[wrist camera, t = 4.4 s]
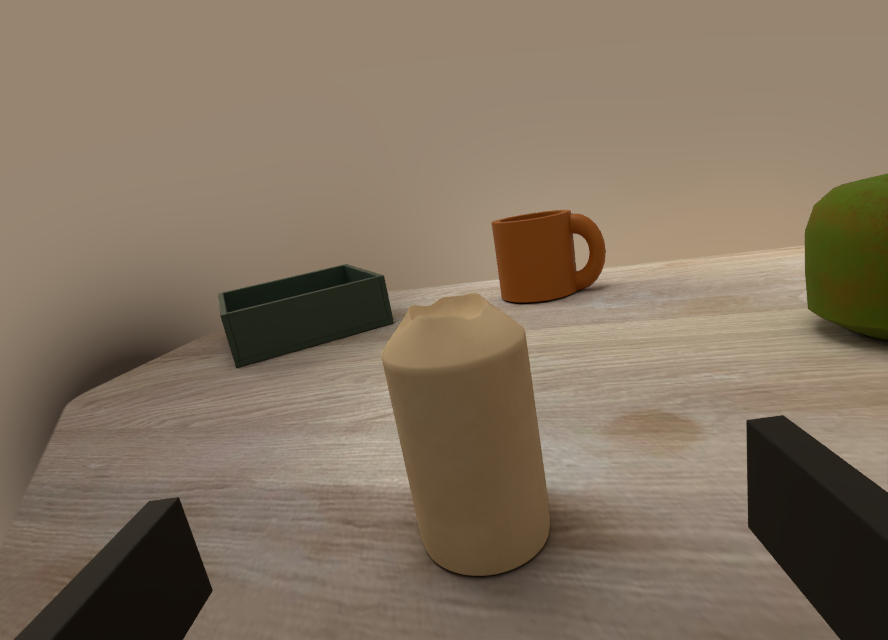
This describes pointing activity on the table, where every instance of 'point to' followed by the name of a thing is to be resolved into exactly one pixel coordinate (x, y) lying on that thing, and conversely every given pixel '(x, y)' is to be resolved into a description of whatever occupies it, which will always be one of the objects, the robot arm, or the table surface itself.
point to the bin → (302, 311)
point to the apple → (850, 257)
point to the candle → (469, 434)
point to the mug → (545, 255)
